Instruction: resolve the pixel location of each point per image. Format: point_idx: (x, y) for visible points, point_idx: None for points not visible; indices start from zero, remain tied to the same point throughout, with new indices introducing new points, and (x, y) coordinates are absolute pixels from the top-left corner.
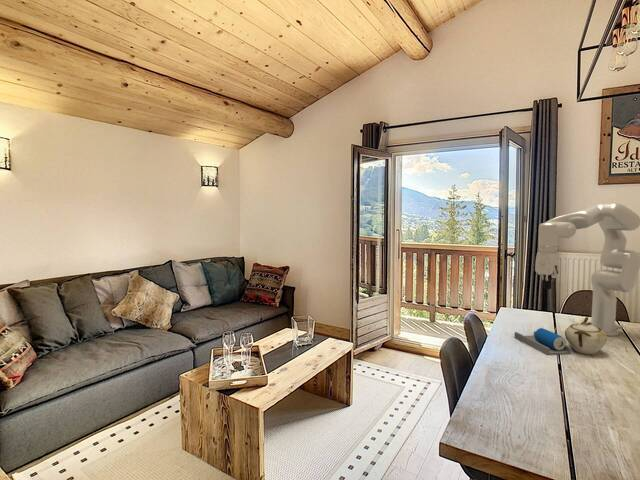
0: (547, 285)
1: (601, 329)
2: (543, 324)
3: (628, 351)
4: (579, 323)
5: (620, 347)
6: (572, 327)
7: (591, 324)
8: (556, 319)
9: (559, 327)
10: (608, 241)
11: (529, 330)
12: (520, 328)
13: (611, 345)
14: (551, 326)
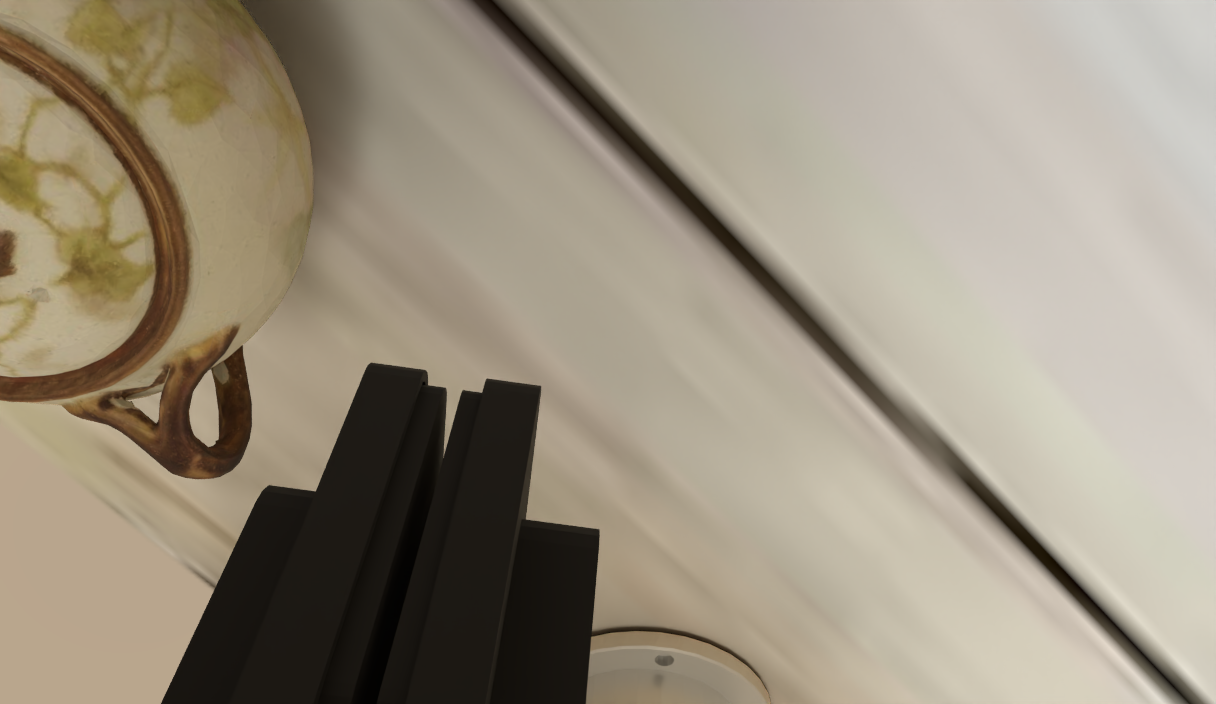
0: (251, 545)
1: (591, 699)
2: (1121, 457)
3: (110, 468)
4: (4, 222)
5: (224, 500)
6: (13, 59)
7: (122, 431)
8: (1153, 698)
9: (938, 517)
10: None
11: (1052, 73)
12: (1202, 16)
13: (287, 480)
14: (1012, 474)
